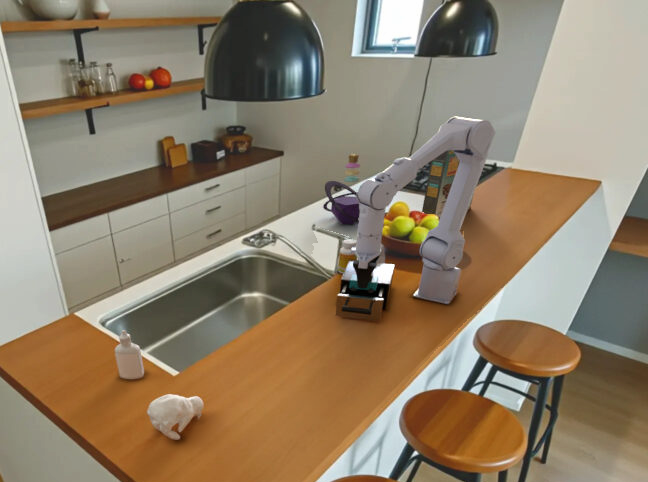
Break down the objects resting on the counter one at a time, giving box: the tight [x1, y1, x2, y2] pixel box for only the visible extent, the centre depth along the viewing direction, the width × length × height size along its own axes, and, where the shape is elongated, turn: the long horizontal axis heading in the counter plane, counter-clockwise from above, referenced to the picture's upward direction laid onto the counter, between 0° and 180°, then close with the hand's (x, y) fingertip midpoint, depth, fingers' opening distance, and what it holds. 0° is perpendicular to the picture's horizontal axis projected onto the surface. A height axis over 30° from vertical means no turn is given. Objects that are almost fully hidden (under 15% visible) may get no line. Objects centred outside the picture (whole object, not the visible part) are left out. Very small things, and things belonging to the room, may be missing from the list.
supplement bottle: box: [337, 238, 358, 275], centre depth 147 cm, size 5×5×10 cm
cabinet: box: [339, 261, 396, 311], centre depth 133 cm, size 13×12×8 cm
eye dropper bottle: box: [114, 329, 145, 380], centre depth 107 cm, size 4×6×12 cm
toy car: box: [349, 271, 378, 293], centre depth 122 cm, size 6×4×5 cm, turn 67°
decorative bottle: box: [322, 153, 361, 226], centre depth 181 cm, size 22×21×25 cm
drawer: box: [335, 282, 385, 322], centre depth 124 cm, size 17×11×6 cm, turn 157°
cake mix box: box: [421, 132, 475, 217], centre depth 182 cm, size 22×6×30 cm, turn 121°
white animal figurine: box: [146, 393, 205, 441], centre depth 92 cm, size 6×8×12 cm
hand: (363, 284), depth 123 cm, fingers closed on toy car, 4 cm apart
